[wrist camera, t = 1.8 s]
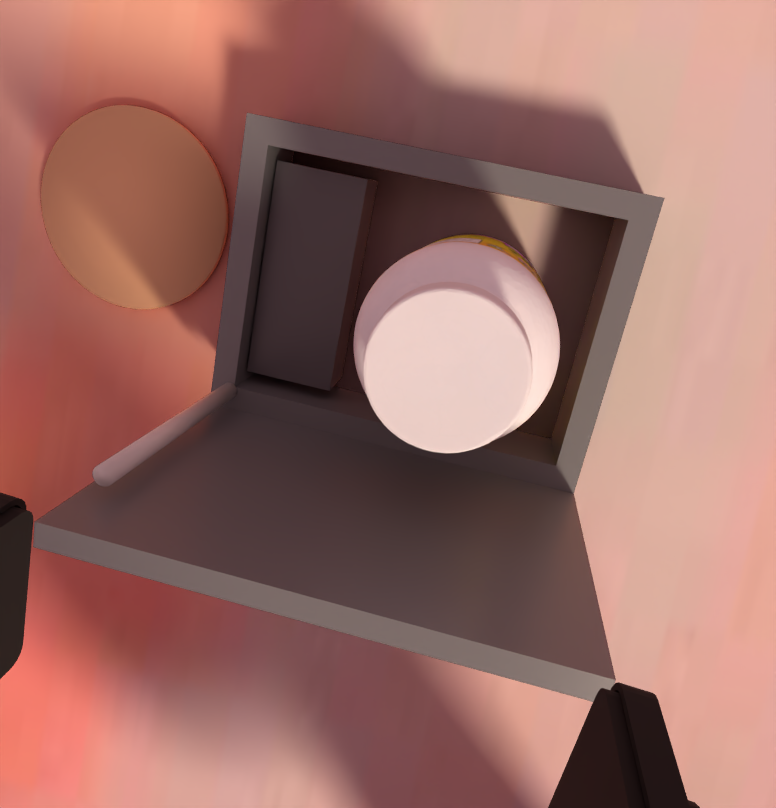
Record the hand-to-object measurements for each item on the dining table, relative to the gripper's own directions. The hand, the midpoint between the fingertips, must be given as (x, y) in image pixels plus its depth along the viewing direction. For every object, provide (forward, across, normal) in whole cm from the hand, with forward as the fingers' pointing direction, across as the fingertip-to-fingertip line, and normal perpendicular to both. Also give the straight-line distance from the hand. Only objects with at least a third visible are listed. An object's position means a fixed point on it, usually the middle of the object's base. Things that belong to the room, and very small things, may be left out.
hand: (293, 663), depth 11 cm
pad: (+22, +15, -2) cm, 27 cm away
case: (+22, +1, -2) cm, 22 cm away
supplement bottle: (+22, -1, -2) cm, 23 cm away
